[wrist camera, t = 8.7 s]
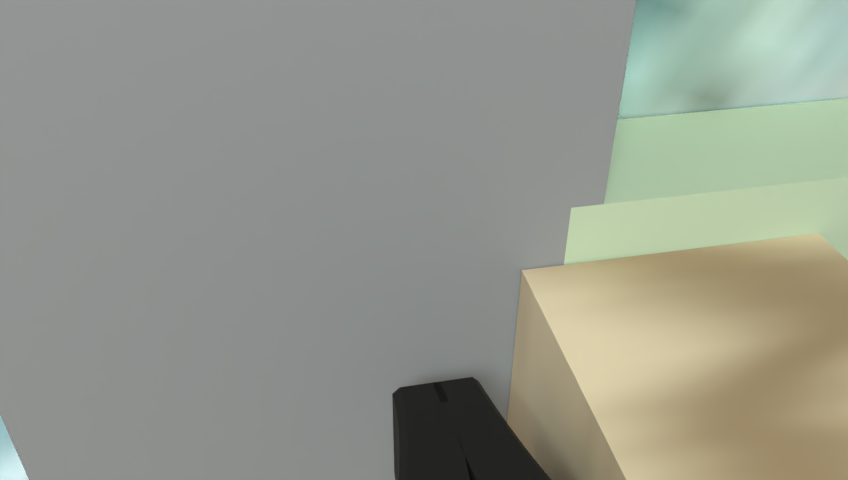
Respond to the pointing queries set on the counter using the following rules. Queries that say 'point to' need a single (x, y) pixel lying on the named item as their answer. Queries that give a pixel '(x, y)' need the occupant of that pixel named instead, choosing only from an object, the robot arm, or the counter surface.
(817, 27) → the counter surface
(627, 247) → the grey shallow tray piece
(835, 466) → the maple block
